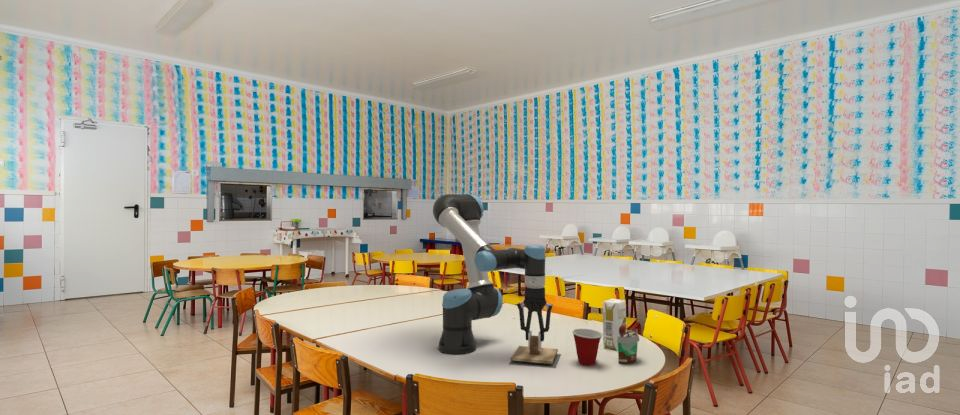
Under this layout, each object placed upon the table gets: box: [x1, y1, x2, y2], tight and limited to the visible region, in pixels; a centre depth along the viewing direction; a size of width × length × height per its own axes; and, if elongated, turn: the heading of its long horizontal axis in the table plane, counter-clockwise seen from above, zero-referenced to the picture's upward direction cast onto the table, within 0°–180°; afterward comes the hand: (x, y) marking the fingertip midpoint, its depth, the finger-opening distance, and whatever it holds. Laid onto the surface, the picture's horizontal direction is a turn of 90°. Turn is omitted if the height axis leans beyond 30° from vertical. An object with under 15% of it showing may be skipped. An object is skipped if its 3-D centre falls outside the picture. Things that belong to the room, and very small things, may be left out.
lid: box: [510, 335, 559, 364], centre depth 188 cm, size 15×15×7 cm
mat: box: [508, 353, 562, 369], centre depth 188 cm, size 17×17×1 cm
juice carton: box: [602, 298, 627, 351], centre depth 204 cm, size 8×9×19 cm
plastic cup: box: [572, 328, 603, 367], centre depth 183 cm, size 11×11×12 cm
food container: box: [617, 329, 640, 365], centre depth 186 cm, size 12×6×10 cm, turn 148°
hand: (534, 349), depth 188 cm, fingers closed on lid, 3 cm apart
